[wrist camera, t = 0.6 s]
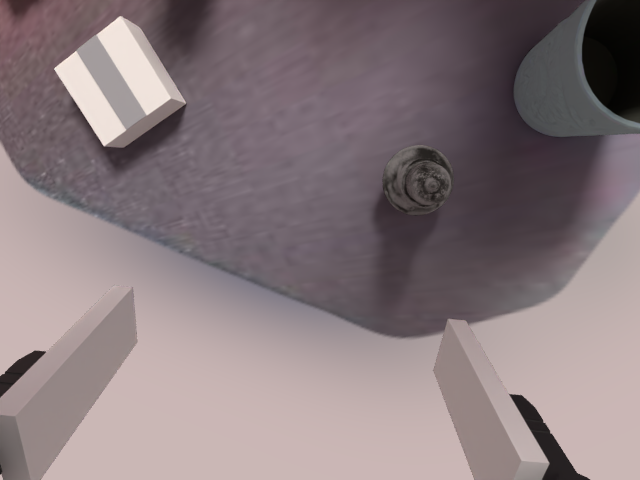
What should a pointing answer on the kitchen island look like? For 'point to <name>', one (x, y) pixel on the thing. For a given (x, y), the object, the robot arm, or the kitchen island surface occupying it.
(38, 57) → the kitchen island surface
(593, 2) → the grey cylindrical cup
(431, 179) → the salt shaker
